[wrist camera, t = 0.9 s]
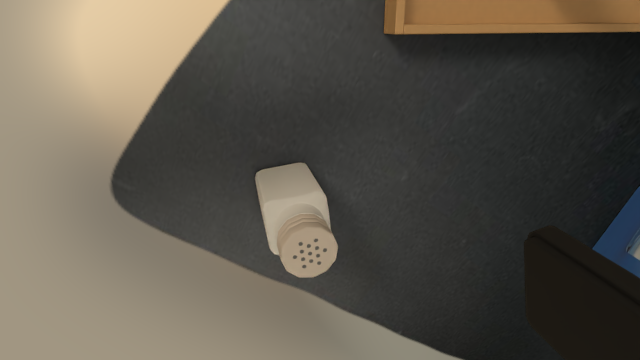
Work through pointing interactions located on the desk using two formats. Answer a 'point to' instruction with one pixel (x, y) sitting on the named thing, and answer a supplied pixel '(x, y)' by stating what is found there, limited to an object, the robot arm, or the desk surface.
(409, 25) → the tray
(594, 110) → the desk surface
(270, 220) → the pepper shaker
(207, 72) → the desk surface
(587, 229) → the desk surface
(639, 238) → the milk carton
